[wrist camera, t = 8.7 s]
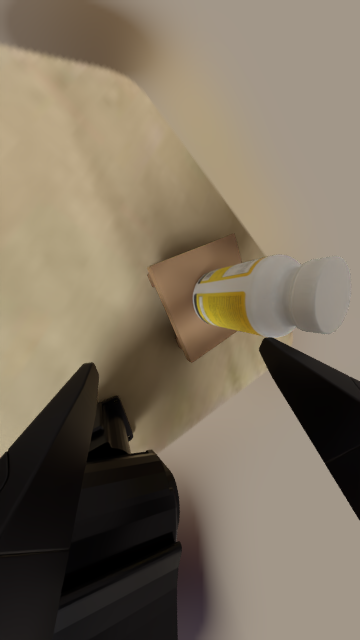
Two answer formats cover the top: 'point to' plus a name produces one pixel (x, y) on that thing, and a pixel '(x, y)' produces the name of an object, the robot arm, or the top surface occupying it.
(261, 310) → the pill bottle
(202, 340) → the small wooden stand
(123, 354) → the top surface
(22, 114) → the top surface
